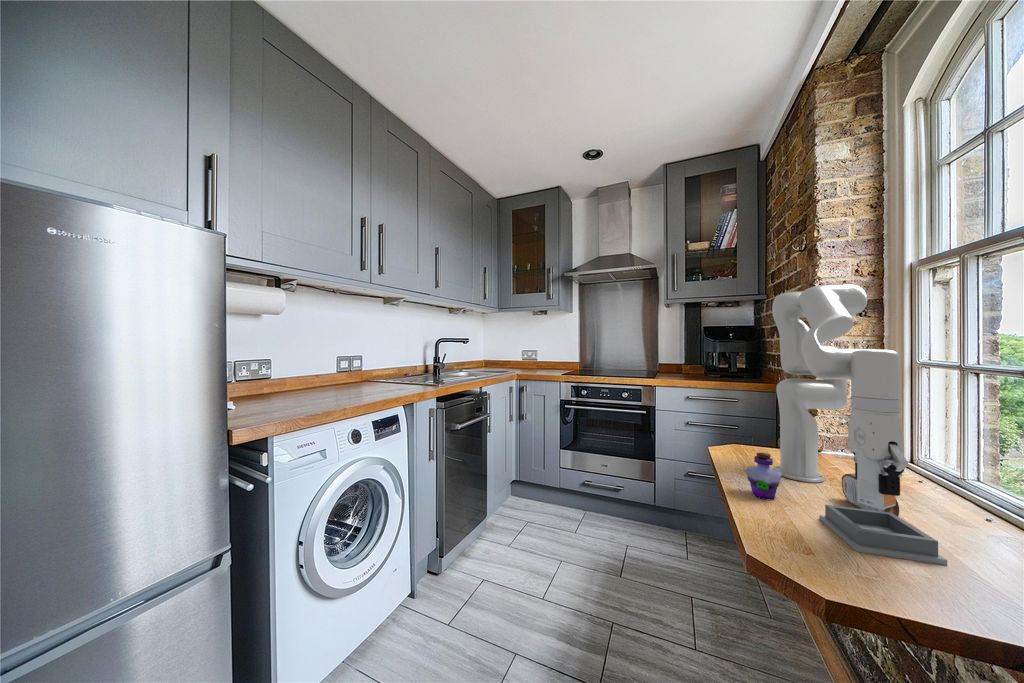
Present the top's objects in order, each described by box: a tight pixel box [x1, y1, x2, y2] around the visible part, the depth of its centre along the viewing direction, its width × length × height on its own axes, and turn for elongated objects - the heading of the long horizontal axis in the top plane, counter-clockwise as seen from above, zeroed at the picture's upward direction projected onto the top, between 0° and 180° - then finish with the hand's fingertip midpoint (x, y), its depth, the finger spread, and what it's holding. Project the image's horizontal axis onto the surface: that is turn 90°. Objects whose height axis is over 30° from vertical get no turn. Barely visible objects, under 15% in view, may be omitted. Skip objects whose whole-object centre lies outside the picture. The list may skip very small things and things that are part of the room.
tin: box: [841, 473, 900, 517], centre depth 89 cm, size 15×3×8 cm, turn 168°
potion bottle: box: [745, 452, 782, 501], centre depth 97 cm, size 9×9×12 cm
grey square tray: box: [818, 504, 948, 566], centre depth 75 cm, size 14×14×4 cm
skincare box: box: [856, 448, 897, 510], centre depth 75 cm, size 6×4×12 cm
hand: (876, 486), depth 75 cm, fingers closed on skincare box, 6 cm apart
